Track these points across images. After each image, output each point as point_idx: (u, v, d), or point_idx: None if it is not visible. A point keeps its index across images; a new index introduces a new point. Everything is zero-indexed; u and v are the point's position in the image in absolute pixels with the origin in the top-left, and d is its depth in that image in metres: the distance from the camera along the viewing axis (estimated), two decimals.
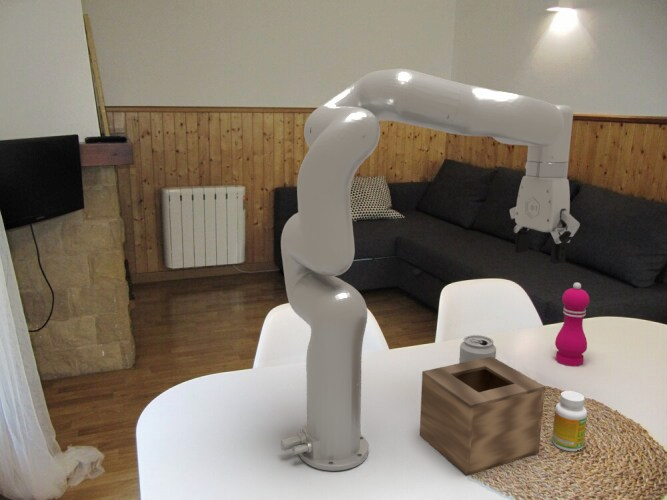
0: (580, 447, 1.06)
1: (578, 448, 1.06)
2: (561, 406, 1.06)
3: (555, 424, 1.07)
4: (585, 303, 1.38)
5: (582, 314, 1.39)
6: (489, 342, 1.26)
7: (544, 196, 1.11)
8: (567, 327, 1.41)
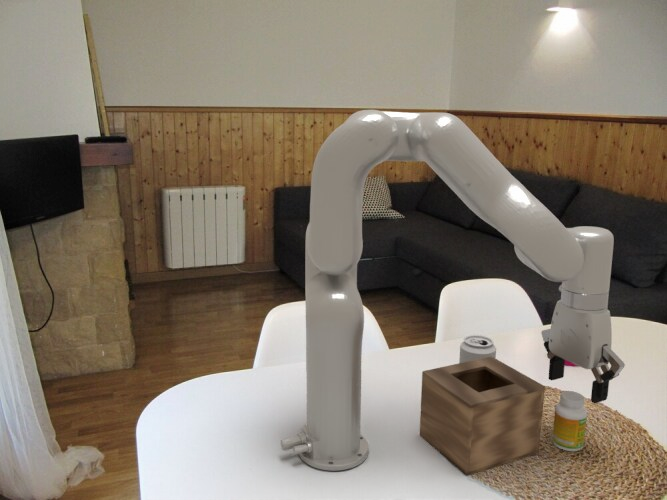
0: (580, 447, 1.06)
1: (578, 448, 1.06)
2: (561, 406, 1.06)
3: (555, 424, 1.07)
4: None
5: None
6: (489, 342, 1.26)
7: (583, 330, 0.99)
8: None
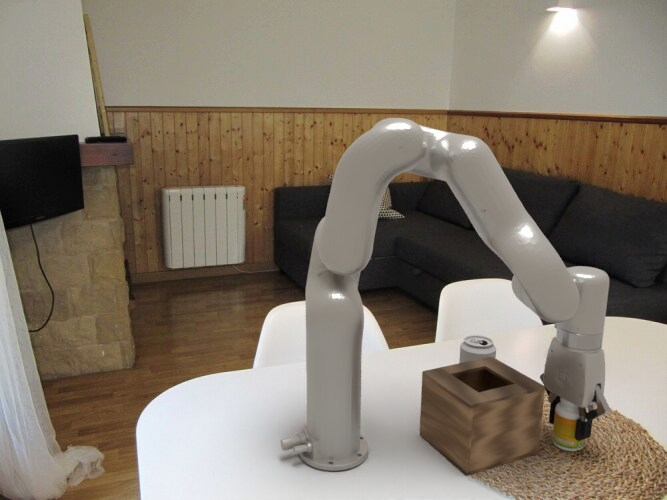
0: (580, 447, 1.06)
1: (578, 448, 1.06)
2: (561, 406, 1.06)
3: (555, 424, 1.07)
4: None
5: None
6: (489, 342, 1.26)
7: (577, 369, 1.01)
8: None
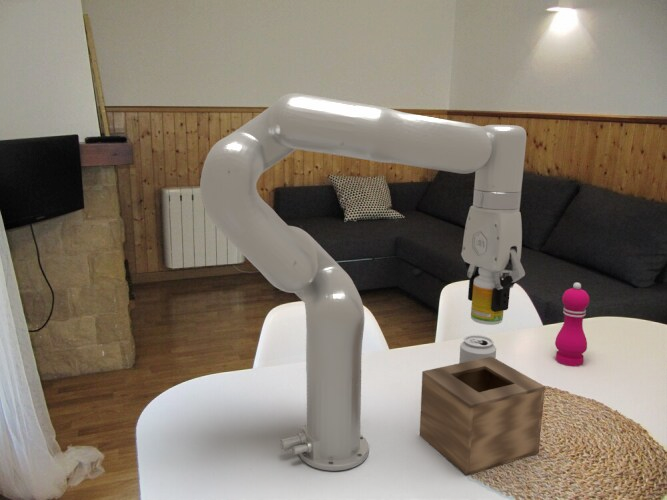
0: (498, 320, 1.00)
1: (496, 321, 1.00)
2: (479, 277, 1.01)
3: (473, 297, 1.01)
4: (585, 303, 1.38)
5: (582, 314, 1.39)
6: (489, 342, 1.26)
7: (492, 231, 0.95)
8: (567, 327, 1.41)
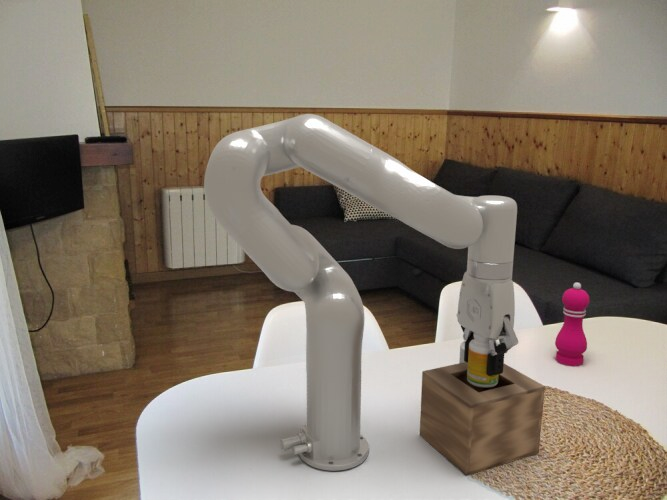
0: (493, 383, 1.03)
1: (491, 384, 1.03)
2: (474, 341, 1.03)
3: (468, 361, 1.04)
4: (585, 303, 1.38)
5: (582, 314, 1.39)
6: None
7: (485, 300, 0.98)
8: (567, 327, 1.41)
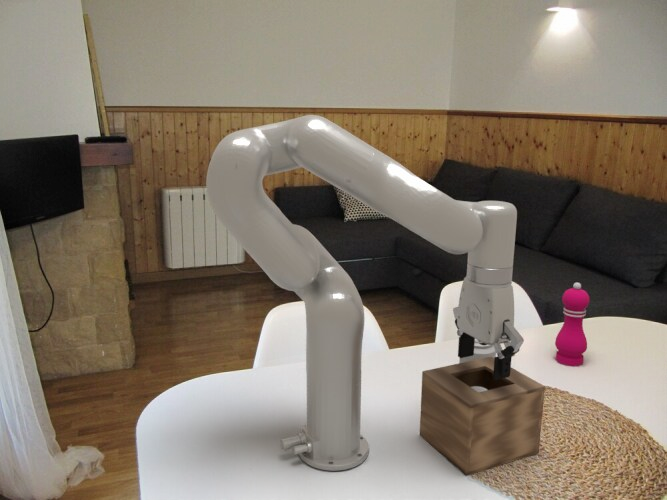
0: None
1: None
2: None
3: None
4: (585, 303, 1.38)
5: (582, 314, 1.39)
6: None
7: (485, 305, 0.98)
8: (567, 327, 1.41)
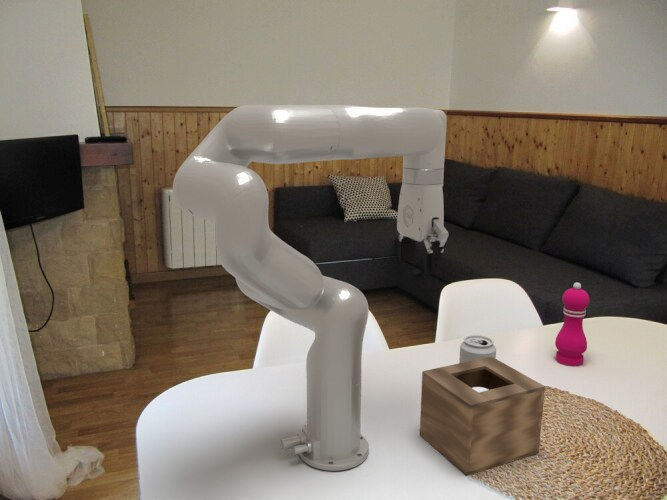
0: None
1: None
2: None
3: None
4: (585, 303, 1.38)
5: (582, 314, 1.39)
6: (489, 342, 1.26)
7: (416, 204, 1.07)
8: (567, 327, 1.41)
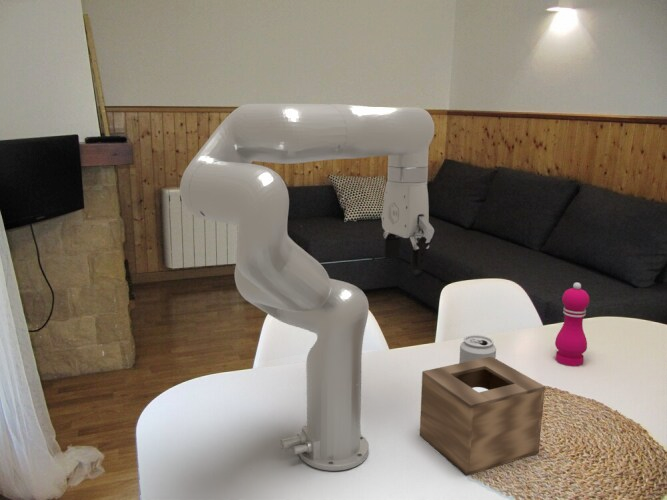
0: None
1: None
2: None
3: None
4: (585, 303, 1.38)
5: (582, 314, 1.39)
6: (489, 342, 1.26)
7: (402, 201, 1.09)
8: (567, 327, 1.41)
